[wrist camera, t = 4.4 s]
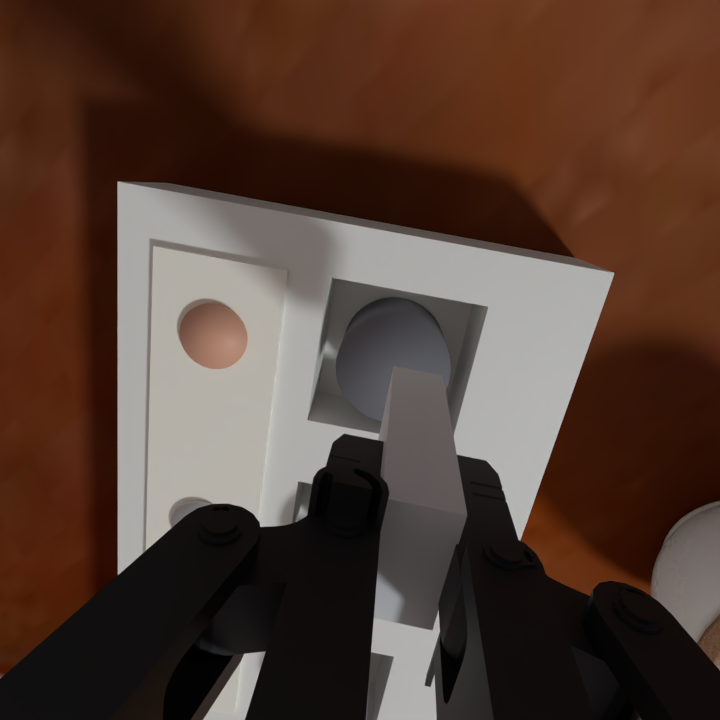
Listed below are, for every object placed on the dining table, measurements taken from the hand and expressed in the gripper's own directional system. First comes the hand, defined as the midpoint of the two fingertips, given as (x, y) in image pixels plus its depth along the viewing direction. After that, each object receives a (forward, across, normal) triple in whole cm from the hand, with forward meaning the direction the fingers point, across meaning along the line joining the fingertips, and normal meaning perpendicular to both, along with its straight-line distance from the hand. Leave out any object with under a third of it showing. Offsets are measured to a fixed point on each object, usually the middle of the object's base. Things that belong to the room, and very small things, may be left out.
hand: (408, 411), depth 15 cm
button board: (+8, -3, -9) cm, 13 cm away
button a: (+7, -1, 0) cm, 7 cm away
